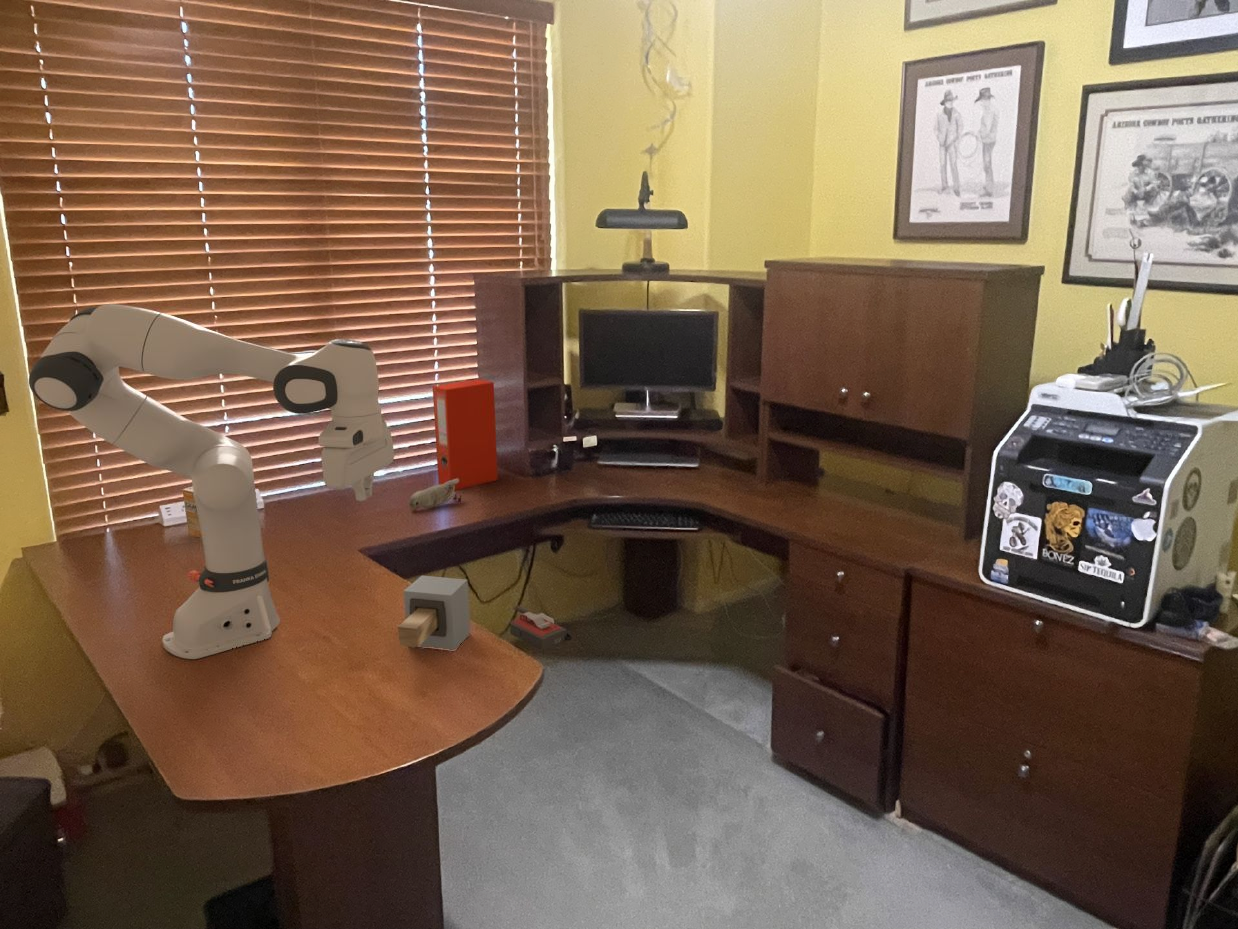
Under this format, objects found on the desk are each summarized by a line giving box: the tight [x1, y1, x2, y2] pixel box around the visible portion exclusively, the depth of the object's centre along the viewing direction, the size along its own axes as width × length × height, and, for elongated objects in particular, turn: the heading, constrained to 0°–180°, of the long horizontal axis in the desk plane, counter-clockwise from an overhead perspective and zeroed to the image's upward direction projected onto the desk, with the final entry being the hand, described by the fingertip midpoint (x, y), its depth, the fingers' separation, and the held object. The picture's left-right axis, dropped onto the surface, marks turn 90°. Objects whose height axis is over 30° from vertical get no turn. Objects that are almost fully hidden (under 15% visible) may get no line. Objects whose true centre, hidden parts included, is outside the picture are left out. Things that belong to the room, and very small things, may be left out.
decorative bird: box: [409, 478, 462, 514], centre depth 266 cm, size 5×16×8 cm, turn 129°
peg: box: [397, 607, 439, 648], centre depth 176 cm, size 14×4×4 cm, turn 166°
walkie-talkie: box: [509, 605, 573, 651], centre depth 187 cm, size 9×4×20 cm
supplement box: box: [182, 486, 202, 539], centre depth 244 cm, size 8×5×13 cm, turn 62°
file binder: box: [432, 378, 499, 491], centre depth 286 cm, size 8×17×32 cm, turn 132°
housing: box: [403, 575, 472, 650], centre depth 181 cm, size 9×10×12 cm
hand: (364, 498), depth 172 cm, fingers closed
